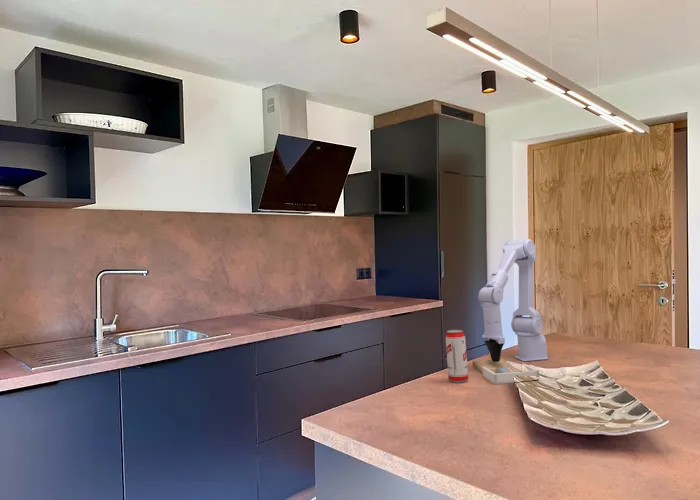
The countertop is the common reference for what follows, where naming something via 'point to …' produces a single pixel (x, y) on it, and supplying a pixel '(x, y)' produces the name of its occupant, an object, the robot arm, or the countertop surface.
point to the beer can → (456, 356)
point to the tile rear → (499, 370)
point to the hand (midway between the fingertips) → (495, 361)
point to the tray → (508, 375)
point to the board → (489, 365)
